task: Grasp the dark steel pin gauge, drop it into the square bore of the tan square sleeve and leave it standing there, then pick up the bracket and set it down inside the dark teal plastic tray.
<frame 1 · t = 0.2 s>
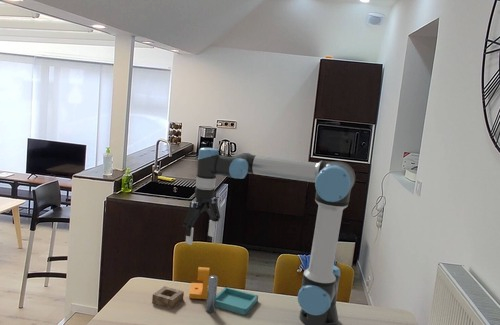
hand: (200, 240, 180), 27 cm above the table, fingers open, 13 cm apart
bracket: (198, 295, 192), on the table
tray: (234, 303, 188), on the table
pin: (210, 310, 179), on the table
tan square sleeve: (167, 301, 183), on the table
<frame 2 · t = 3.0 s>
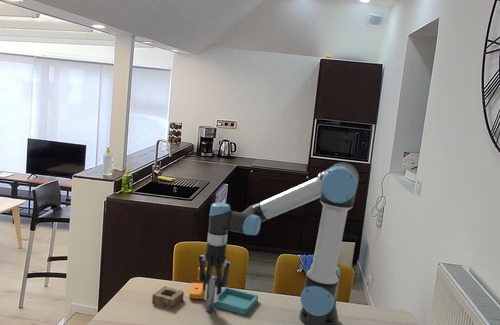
hand: (211, 299, 179), 5 cm above the table, fingers closed on pin, 3 cm apart
pin: (210, 310, 179), on the table, touching gripper
everything else where it was.
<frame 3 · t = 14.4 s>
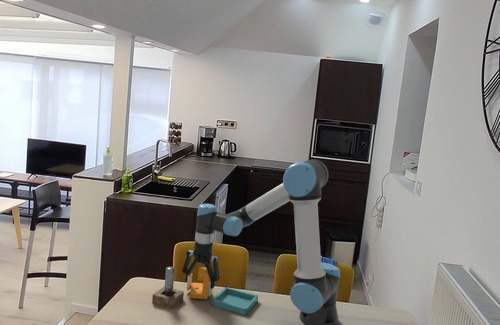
hand: (199, 292, 192), 1 cm above the table, fingers closed on bracket, 9 cm apart
bracket: (198, 294, 192), on the table, touching gripper
pin: (167, 301, 183), resting in tan square sleeve
when the fingers open (4 cm above the table, at t = 20.5 s): bracket drops 2 cm, resting on tray.
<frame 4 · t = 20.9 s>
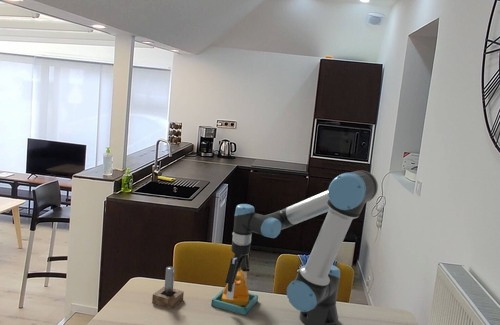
hand: (236, 291, 187), 5 cm above the table, fingers open, 13 cm apart
bracket: (234, 302, 188), resting on tray
everything else where it was.
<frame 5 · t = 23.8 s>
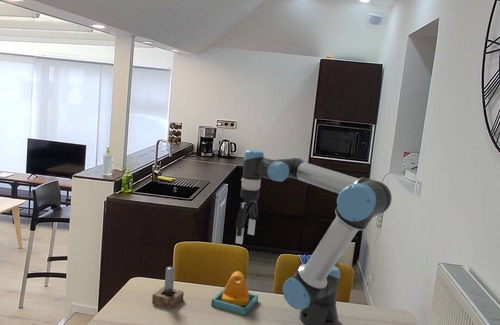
hand: (245, 238, 187), 27 cm above the table, fingers open, 13 cm apart
nothing on the table moved.
at the end: pin 0.0 cm off-centre on the tan square sleeve, point 0.0 cm above the tan square sleeve's base; bracket inside the target area on the tray (0.0 cm from its centre), point 0.3 cm above the tray's base; bracket tilted 0° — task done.
